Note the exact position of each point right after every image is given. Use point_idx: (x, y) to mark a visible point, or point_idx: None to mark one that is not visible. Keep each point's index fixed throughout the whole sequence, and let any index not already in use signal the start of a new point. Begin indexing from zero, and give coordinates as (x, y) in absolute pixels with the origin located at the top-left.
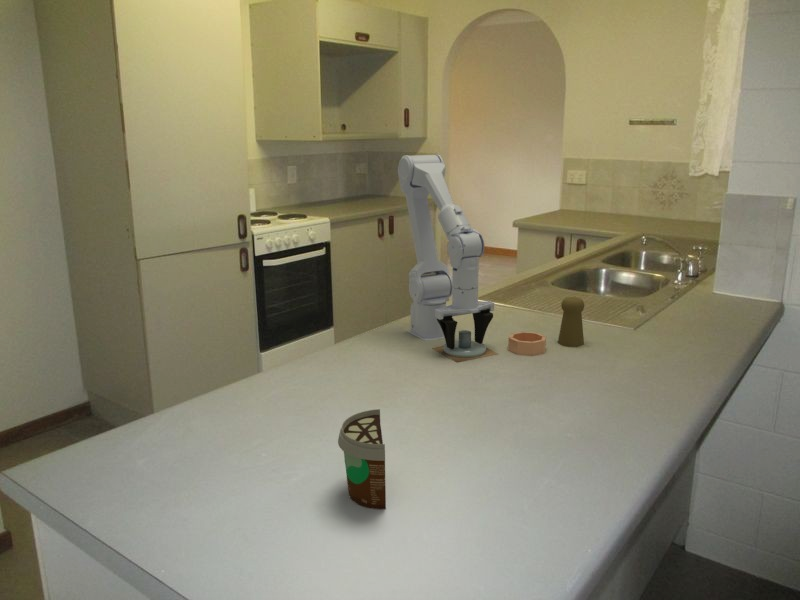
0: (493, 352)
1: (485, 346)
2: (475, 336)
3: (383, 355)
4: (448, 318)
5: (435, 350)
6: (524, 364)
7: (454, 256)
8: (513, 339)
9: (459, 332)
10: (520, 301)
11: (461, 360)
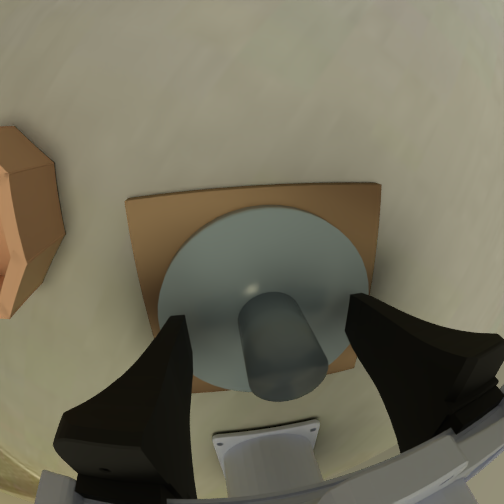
0: (140, 233)
1: (163, 286)
2: (191, 369)
3: None
4: (475, 402)
5: None
6: (84, 53)
7: None
8: (13, 224)
9: (321, 377)
10: (17, 471)
11: (354, 195)
